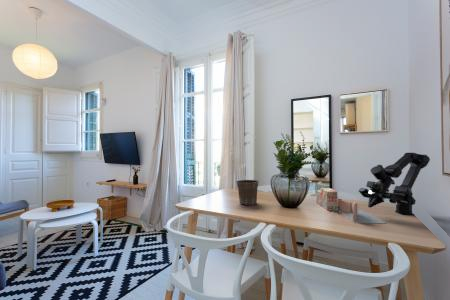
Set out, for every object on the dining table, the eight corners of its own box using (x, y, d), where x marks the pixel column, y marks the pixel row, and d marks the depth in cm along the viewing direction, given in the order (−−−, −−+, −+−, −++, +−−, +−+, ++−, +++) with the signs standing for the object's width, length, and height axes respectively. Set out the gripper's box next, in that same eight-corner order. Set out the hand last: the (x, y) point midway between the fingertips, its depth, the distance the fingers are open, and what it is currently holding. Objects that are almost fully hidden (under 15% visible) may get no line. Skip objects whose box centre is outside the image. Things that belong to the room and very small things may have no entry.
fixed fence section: (352, 213, 129) (352, 201, 129) (349, 213, 128) (349, 201, 128) (339, 209, 137) (339, 198, 137) (337, 209, 137) (337, 198, 137)
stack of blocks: (316, 202, 156) (316, 185, 156) (325, 202, 156) (325, 185, 156) (327, 211, 135) (327, 191, 135) (337, 211, 134) (337, 191, 134)
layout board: (361, 210, 135) (361, 209, 135) (386, 223, 111) (386, 222, 111) (336, 209, 137) (336, 209, 137) (354, 222, 112) (354, 222, 112)
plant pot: (231, 203, 157) (231, 181, 157) (246, 199, 168) (246, 179, 168) (249, 207, 145) (248, 183, 145) (263, 203, 156) (263, 181, 156)
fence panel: (351, 212, 128) (351, 197, 128) (357, 213, 127) (357, 198, 127) (352, 220, 114) (352, 203, 114) (358, 221, 112) (358, 204, 112)
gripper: (360, 174, 129) (346, 194, 126) (392, 177, 112) (377, 201, 108) (370, 186, 132) (357, 206, 128) (404, 191, 114) (389, 215, 111)
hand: (369, 207), depth 119 cm, fingers closed
